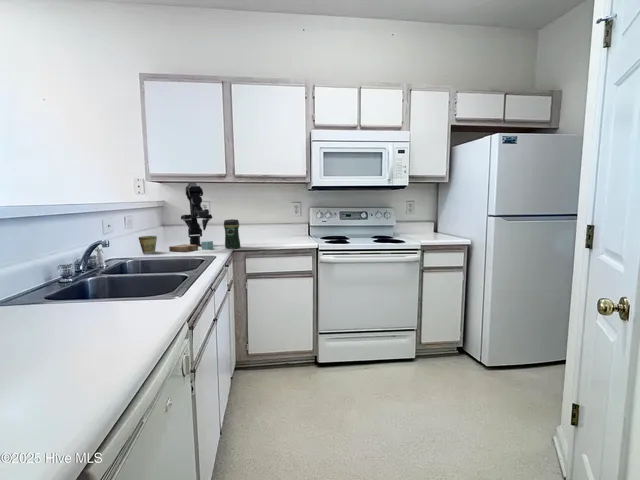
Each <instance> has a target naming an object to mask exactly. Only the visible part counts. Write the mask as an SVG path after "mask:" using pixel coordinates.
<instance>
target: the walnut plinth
mask: <svg viewBox="0 0 640 480" xmlns="http://www.w3.org/2000/svg"><path fill="white" fill-rule="evenodd" d="M168 249H169V250H168V251H169V252H173V253H175V252H176V253H187V252H192V251H197V250H199V246H198V245H190V244H186V243H183V244H178V245H172V246H171V245H170V246H169V247H168Z"/></svg>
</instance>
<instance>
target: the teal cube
mask: <svg viewBox="0 0 640 480" xmlns="http://www.w3.org/2000/svg"><path fill="white" fill-rule="evenodd" d="M213 242H214V241H213V240H205V241H200V244H201V245H200V246H201V250H206V251H209V250H213V249H214V243H213Z"/></svg>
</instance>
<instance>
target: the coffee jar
mask: <svg viewBox="0 0 640 480" xmlns="http://www.w3.org/2000/svg"><path fill="white" fill-rule="evenodd" d="M223 228H224V248H225V249H237V248H240V247H241V241H240V234H239V233H240V232H239V228H240V222H239V220H238V219H233V218H232V219H224V221H223Z"/></svg>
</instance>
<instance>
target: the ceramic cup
mask: <svg viewBox="0 0 640 480" xmlns="http://www.w3.org/2000/svg"><path fill="white" fill-rule="evenodd" d="M157 237H158V236H157V235H142V236H138V241H139V244H140V249H141V252H142V254H153V253H156V249H157V239H158V238H157Z"/></svg>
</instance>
